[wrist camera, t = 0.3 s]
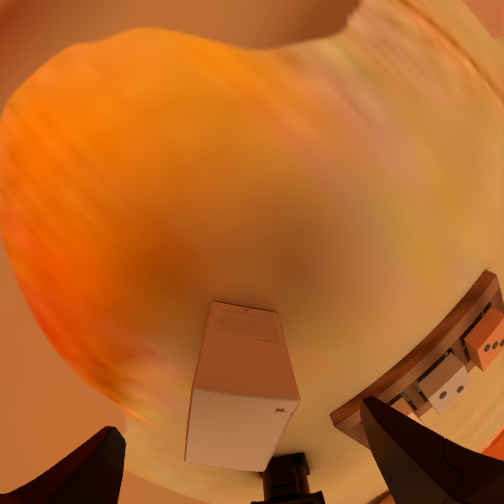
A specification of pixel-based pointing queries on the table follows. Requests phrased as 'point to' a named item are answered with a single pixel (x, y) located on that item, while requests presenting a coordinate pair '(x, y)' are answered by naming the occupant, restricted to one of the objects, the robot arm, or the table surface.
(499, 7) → the milk
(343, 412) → the tile tray
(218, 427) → the small box
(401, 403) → the tile one pip
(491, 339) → the tile three pip
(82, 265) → the table surface
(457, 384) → the tile two pip
